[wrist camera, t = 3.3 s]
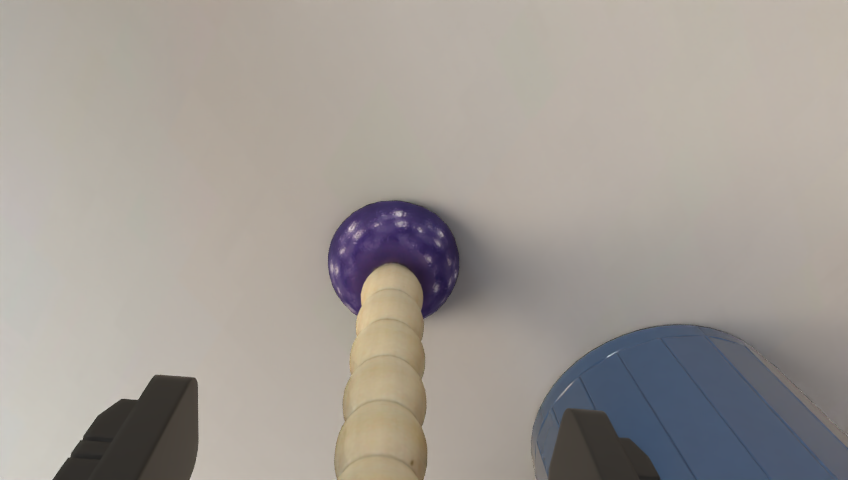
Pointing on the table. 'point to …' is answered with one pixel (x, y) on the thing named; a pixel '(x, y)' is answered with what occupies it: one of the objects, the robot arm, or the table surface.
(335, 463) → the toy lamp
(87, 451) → the robot arm
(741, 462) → the blue coffee mug
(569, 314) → the table surface
